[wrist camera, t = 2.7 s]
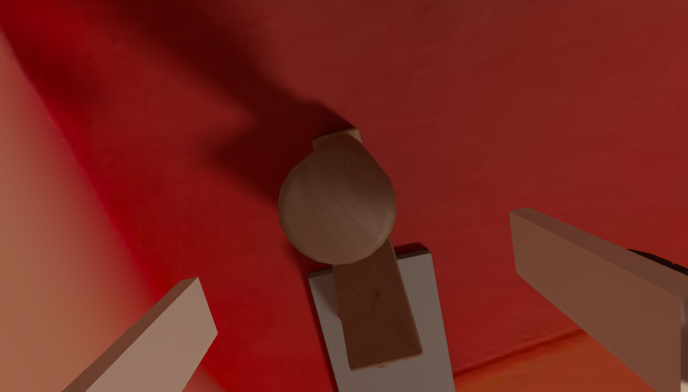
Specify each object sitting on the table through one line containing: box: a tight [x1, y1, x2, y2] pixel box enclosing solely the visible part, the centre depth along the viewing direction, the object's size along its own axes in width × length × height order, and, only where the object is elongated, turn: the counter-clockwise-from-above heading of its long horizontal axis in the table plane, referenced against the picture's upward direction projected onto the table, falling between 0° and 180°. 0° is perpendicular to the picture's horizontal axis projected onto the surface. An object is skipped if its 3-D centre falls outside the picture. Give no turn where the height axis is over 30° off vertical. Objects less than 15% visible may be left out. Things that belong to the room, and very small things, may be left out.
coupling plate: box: [308, 249, 455, 392], centre depth 31 cm, size 27×11×1 cm, turn 13°
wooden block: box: [277, 127, 423, 371], centre depth 19 cm, size 4×11×18 cm, turn 15°
